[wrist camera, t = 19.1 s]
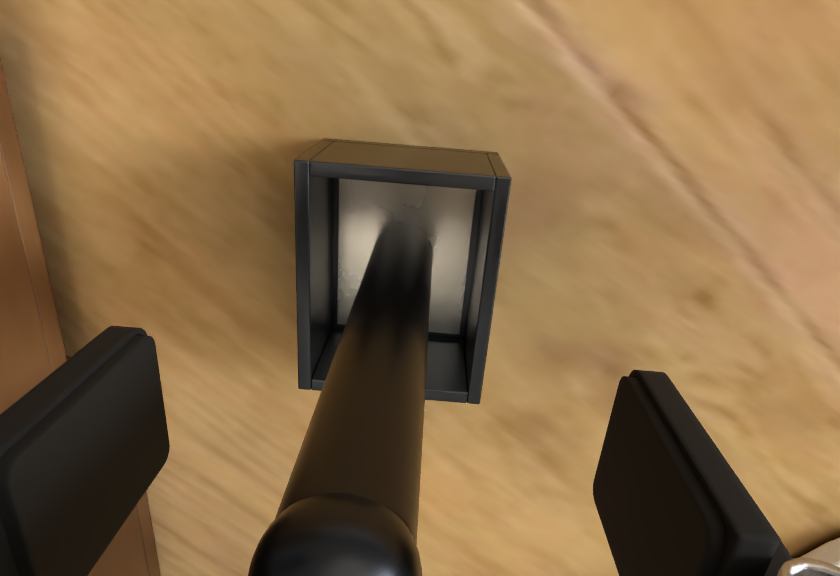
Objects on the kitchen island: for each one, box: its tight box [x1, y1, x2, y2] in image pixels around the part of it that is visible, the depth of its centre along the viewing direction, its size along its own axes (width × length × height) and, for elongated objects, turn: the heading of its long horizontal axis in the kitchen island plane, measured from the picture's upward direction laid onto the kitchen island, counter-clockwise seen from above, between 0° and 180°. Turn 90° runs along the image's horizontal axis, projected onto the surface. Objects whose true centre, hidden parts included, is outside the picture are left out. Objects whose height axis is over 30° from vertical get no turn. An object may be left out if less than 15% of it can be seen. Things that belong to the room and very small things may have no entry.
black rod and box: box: [248, 139, 511, 576], centre depth 12 cm, size 7×6×14 cm
